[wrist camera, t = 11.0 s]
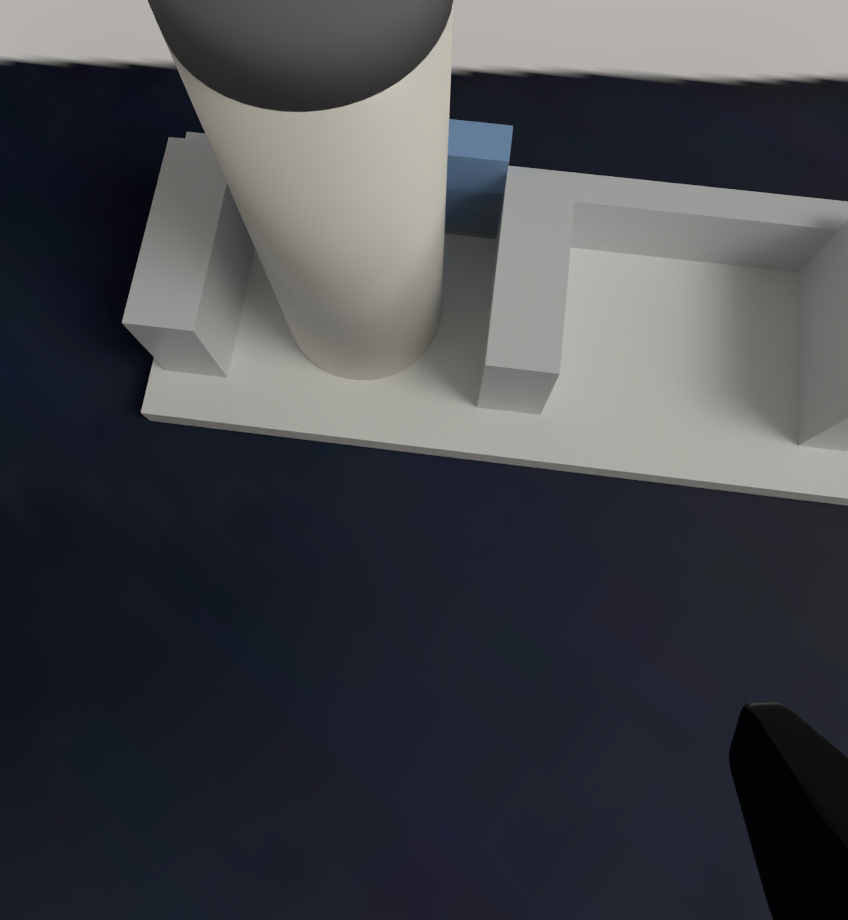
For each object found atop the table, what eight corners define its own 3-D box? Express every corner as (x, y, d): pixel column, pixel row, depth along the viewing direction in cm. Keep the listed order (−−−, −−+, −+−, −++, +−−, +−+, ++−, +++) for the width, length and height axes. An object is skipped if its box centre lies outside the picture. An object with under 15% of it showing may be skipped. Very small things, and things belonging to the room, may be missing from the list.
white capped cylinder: (381, 409, 23) (314, 66, 9) (257, 325, 24) (28, -107, 10) (471, 292, 24) (528, -174, 10) (349, 214, 25) (254, -316, 11)
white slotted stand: (866, 508, 23) (978, 471, 18) (150, 420, 24) (82, 364, 19) (859, 253, 25) (957, 162, 20) (205, 182, 26) (157, 80, 21)
